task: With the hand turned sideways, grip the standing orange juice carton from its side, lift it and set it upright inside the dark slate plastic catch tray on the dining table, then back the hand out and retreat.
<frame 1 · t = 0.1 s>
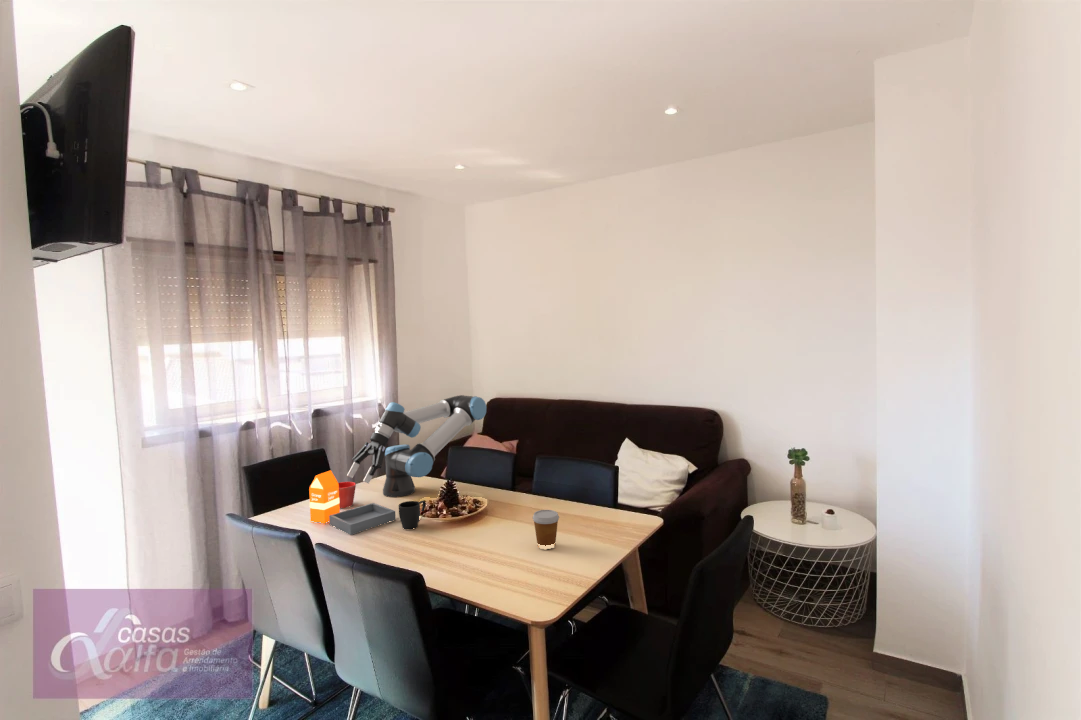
hand: (357, 479, 225), 15 cm above the table, tool tilted 35°, fingers open, 13 cm apart
disposable coffee cup: (546, 547, 188), on the table
mug: (413, 526, 211), on the table
catch tray: (362, 522, 216), on the table
orange juice: (325, 520, 220), on the table
flower pot: (343, 506, 238), on the table
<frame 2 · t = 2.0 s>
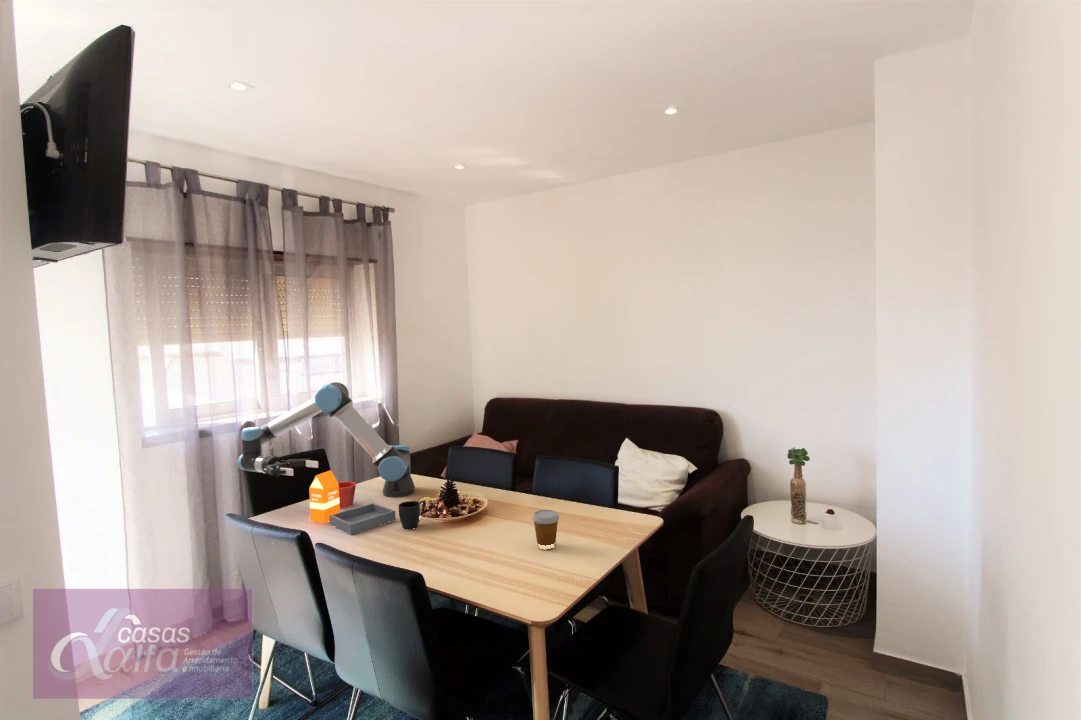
hand: (305, 468, 223), 21 cm above the table, tool horizontal, fingers open, 13 cm apart
nothing on the table moved.
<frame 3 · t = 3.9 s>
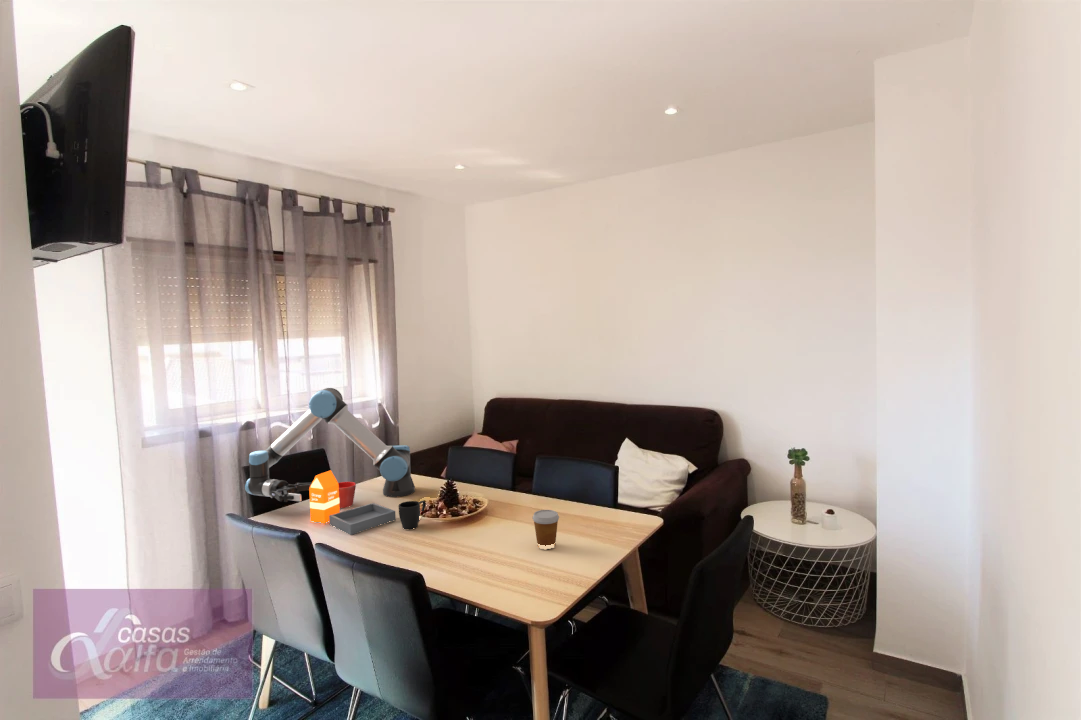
hand: (313, 493, 221), 11 cm above the table, tool horizontal, fingers open, 13 cm apart
nothing on the table moved.
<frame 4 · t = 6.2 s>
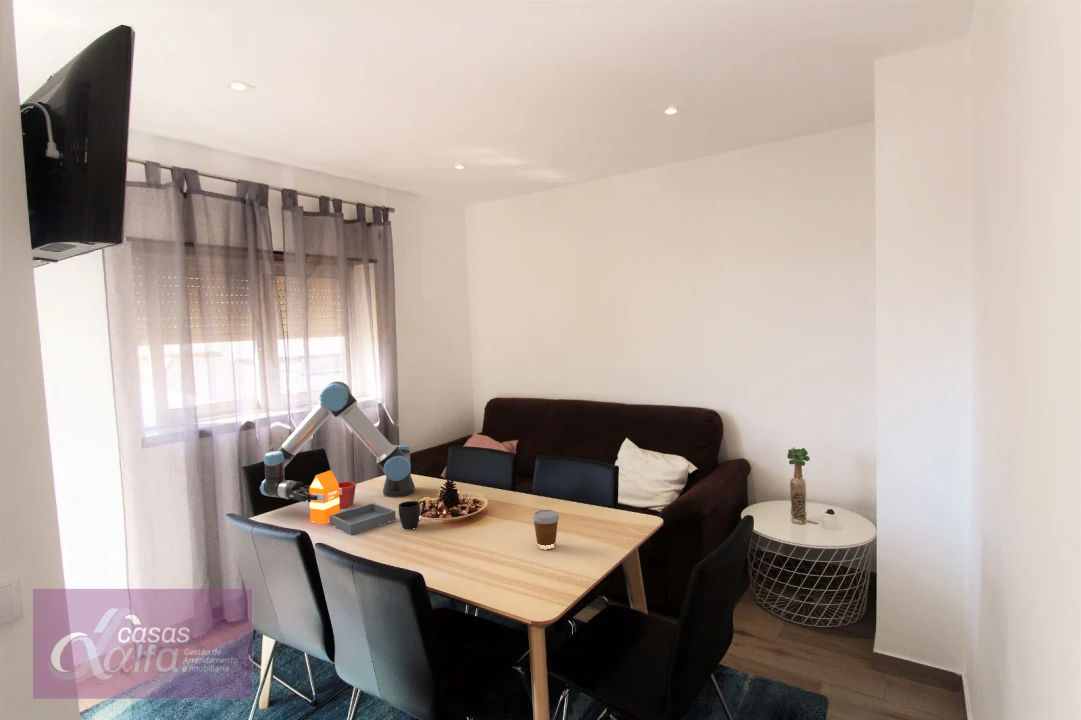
hand: (332, 494, 218), 11 cm above the table, tool horizontal, fingers closed on orange juice, 9 cm apart
orange juice: (325, 520, 220), on the table, touching gripper
everything else where it was.
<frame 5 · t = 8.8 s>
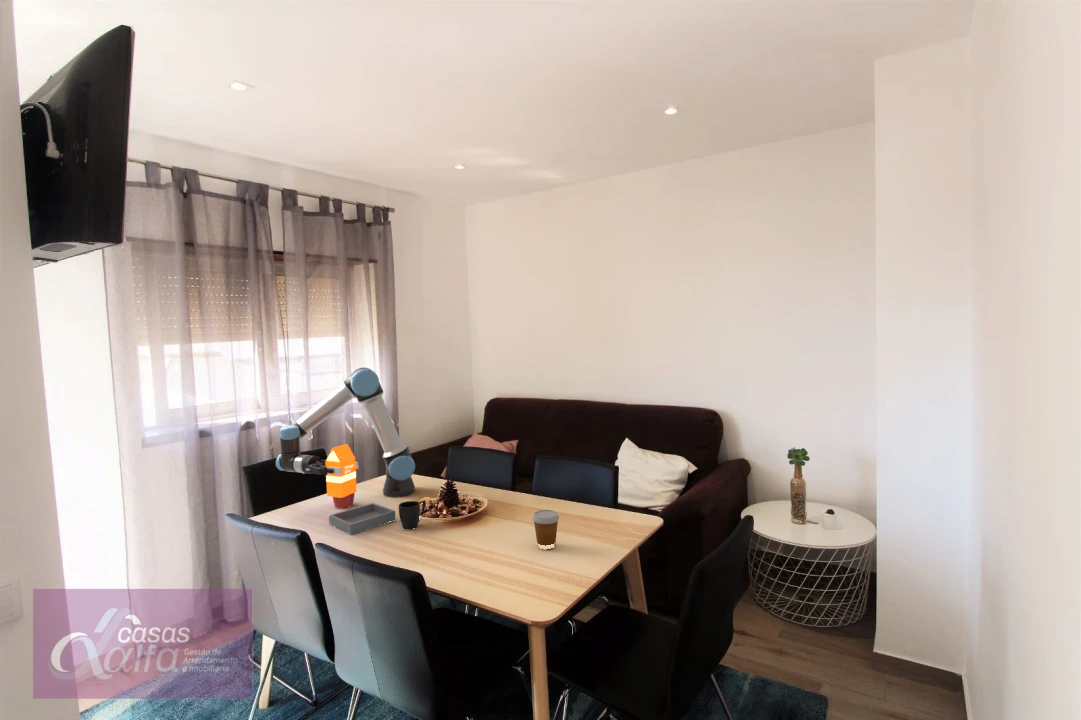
hand: (349, 468, 214), 23 cm above the table, tool horizontal, fingers closed on orange juice, 9 cm apart
orange juice: (342, 494, 216), point 12 cm above the table, touching gripper
everything else where it was.
when the fingers open (13 cm above the table, at t = 11.7 s): orange juice drops 1 cm, resting on catch tray.
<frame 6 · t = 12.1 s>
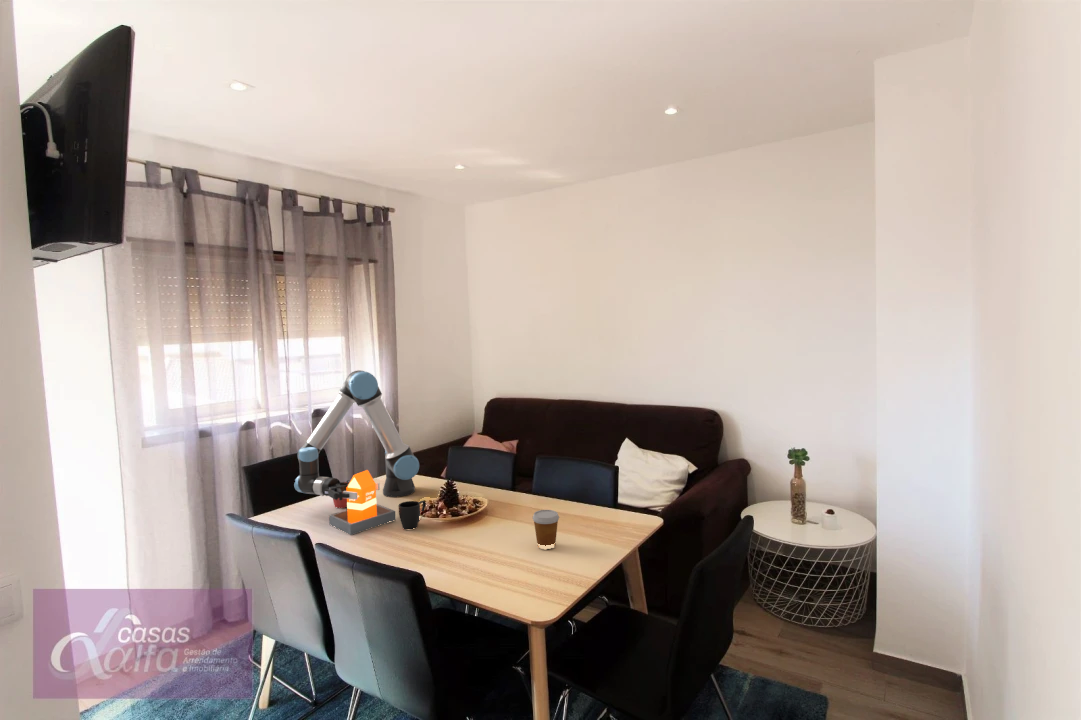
hand: (368, 491, 214), 13 cm above the table, tool horizontal, fingers open, 13 cm apart
orange juice: (362, 520, 216), point 1 cm above the table, touching catch tray
everything else where it was.
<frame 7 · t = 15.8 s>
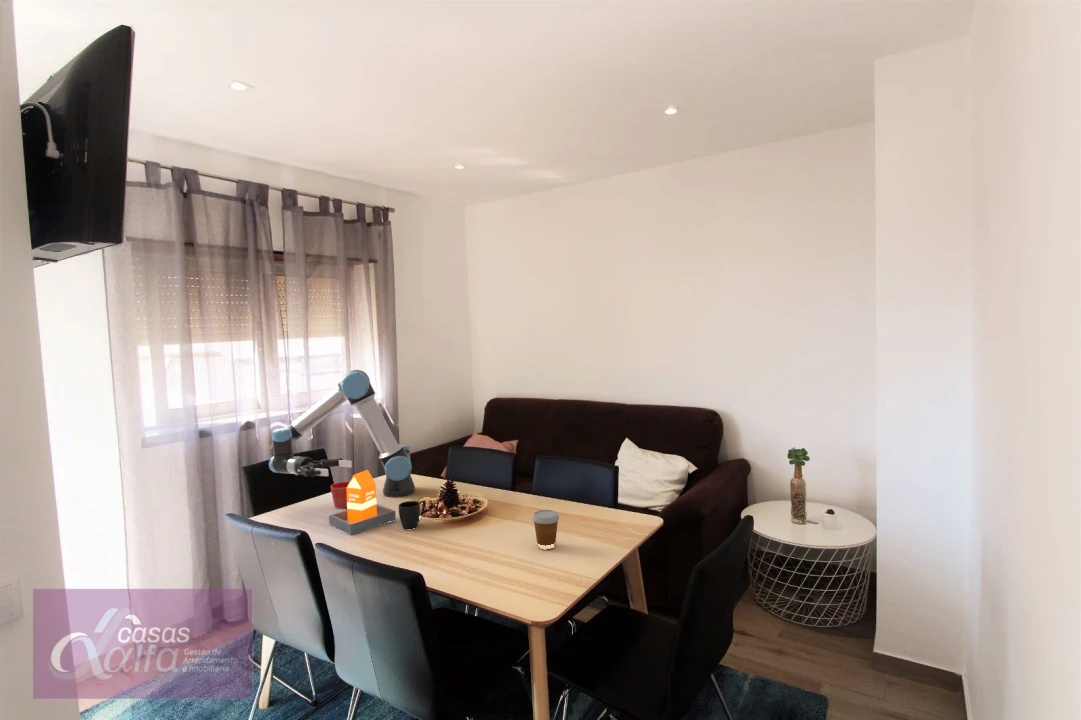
hand: (339, 468, 218), 22 cm above the table, tool horizontal, fingers open, 13 cm apart
nothing on the table moved.
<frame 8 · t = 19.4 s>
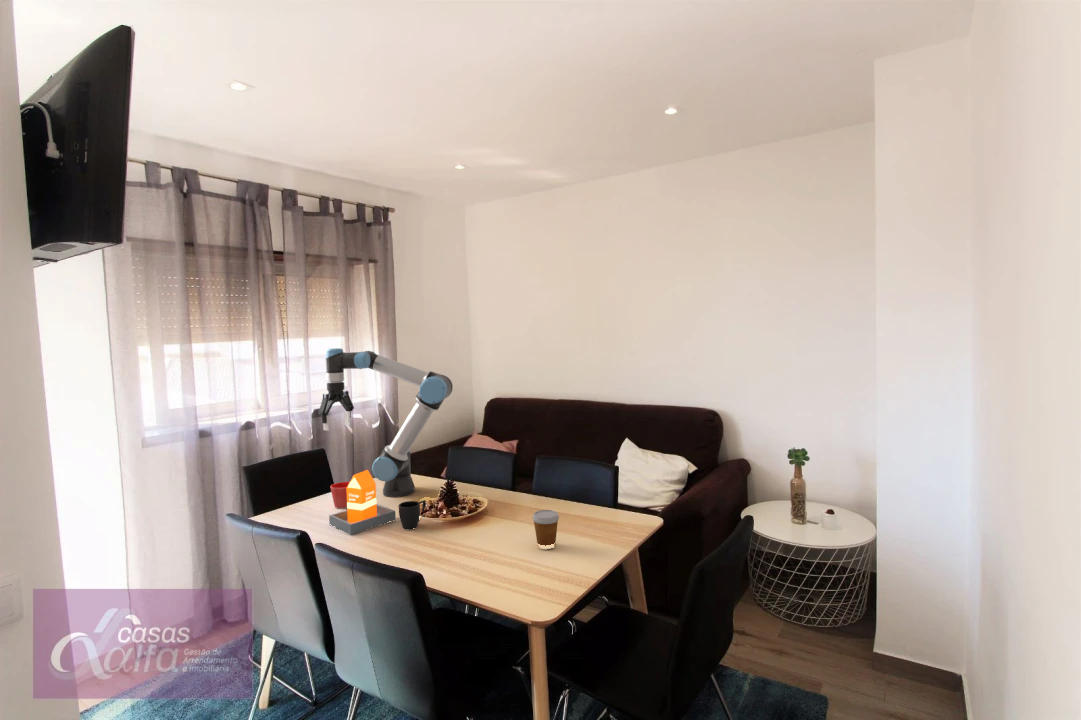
hand: (337, 427, 242), 35 cm above the table, tool pointing down, fingers open, 13 cm apart
nothing on the table moved.
at the end: orange juice inside the target area on the catch tray (0.0 cm from its centre), point 0.8 cm above the catch tray's base; orange juice tilted 0°; the gripper is holding nothing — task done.
